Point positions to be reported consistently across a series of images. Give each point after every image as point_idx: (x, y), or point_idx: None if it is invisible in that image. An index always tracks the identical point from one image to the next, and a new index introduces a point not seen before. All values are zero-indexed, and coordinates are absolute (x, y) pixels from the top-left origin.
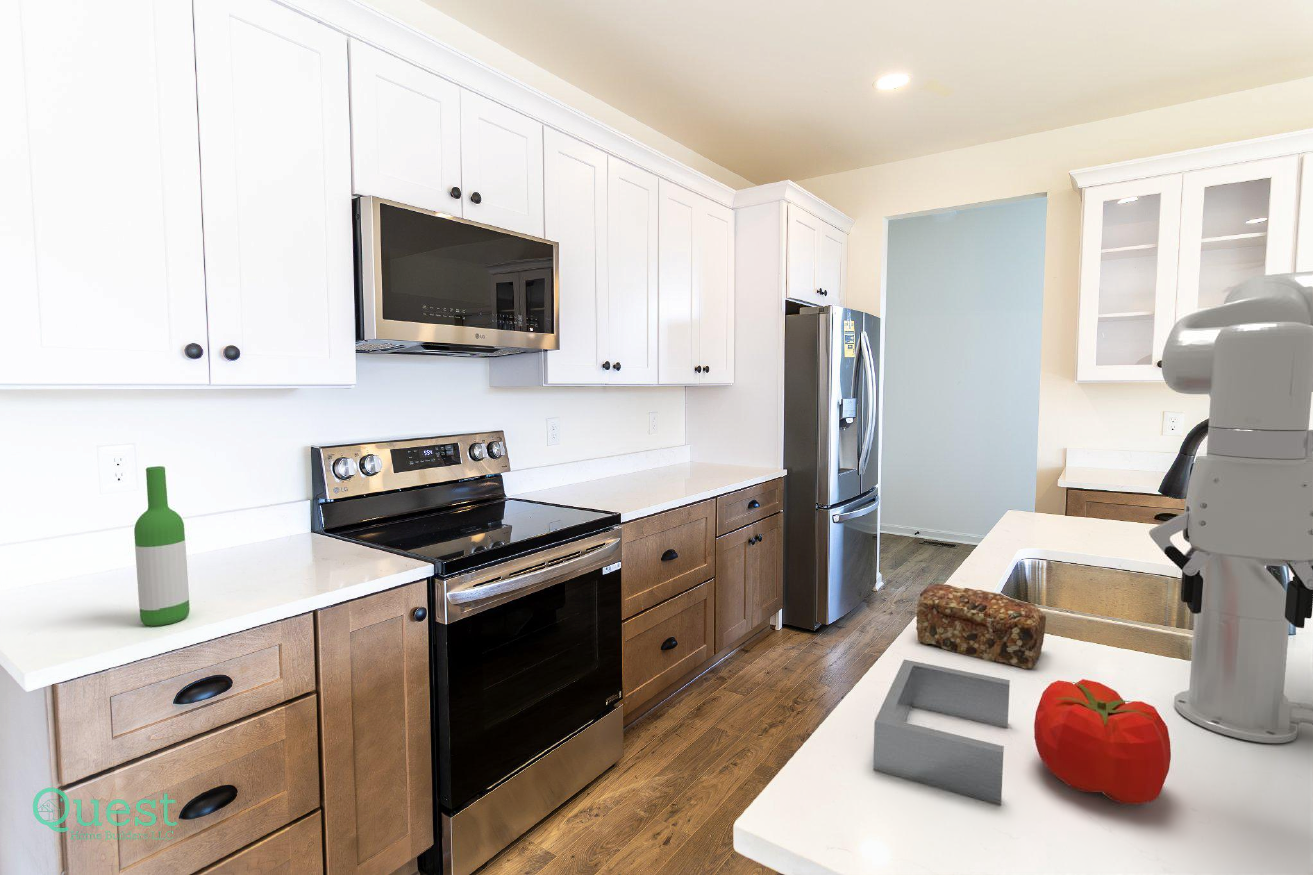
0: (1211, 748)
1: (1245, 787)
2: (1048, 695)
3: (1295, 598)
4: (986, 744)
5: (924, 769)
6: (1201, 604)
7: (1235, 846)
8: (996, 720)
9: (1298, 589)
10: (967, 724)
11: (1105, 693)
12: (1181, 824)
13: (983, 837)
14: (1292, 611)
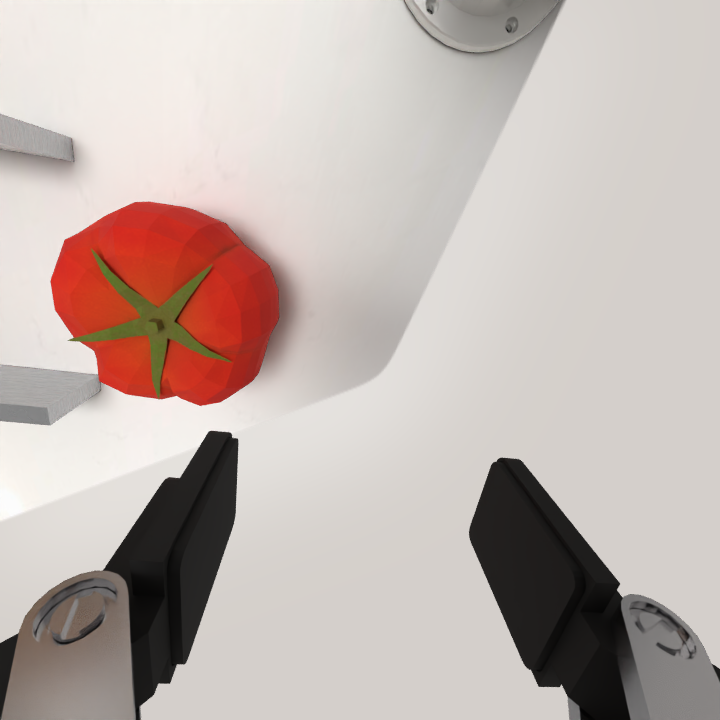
0: (393, 108)
1: (393, 231)
2: (60, 316)
3: (510, 620)
4: (23, 412)
5: None
6: (224, 549)
7: (331, 371)
8: (46, 156)
9: (537, 668)
10: (7, 173)
11: (160, 277)
12: (289, 351)
13: (94, 448)
14: (491, 550)
